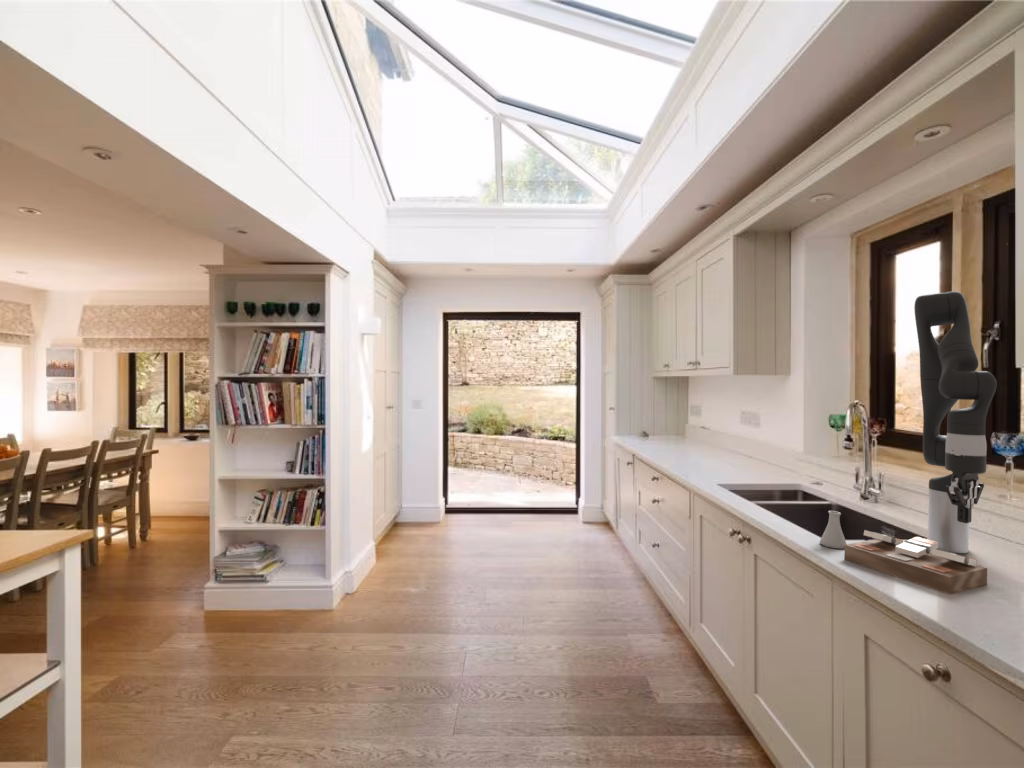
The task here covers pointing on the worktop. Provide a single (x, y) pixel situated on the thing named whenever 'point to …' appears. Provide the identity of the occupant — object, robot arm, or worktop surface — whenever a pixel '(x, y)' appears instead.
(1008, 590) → the worktop surface
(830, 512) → the flask
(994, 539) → the worktop surface
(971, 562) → the rocker
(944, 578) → the switch unit
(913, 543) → the rocker
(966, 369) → the robot arm
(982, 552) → the worktop surface
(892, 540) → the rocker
